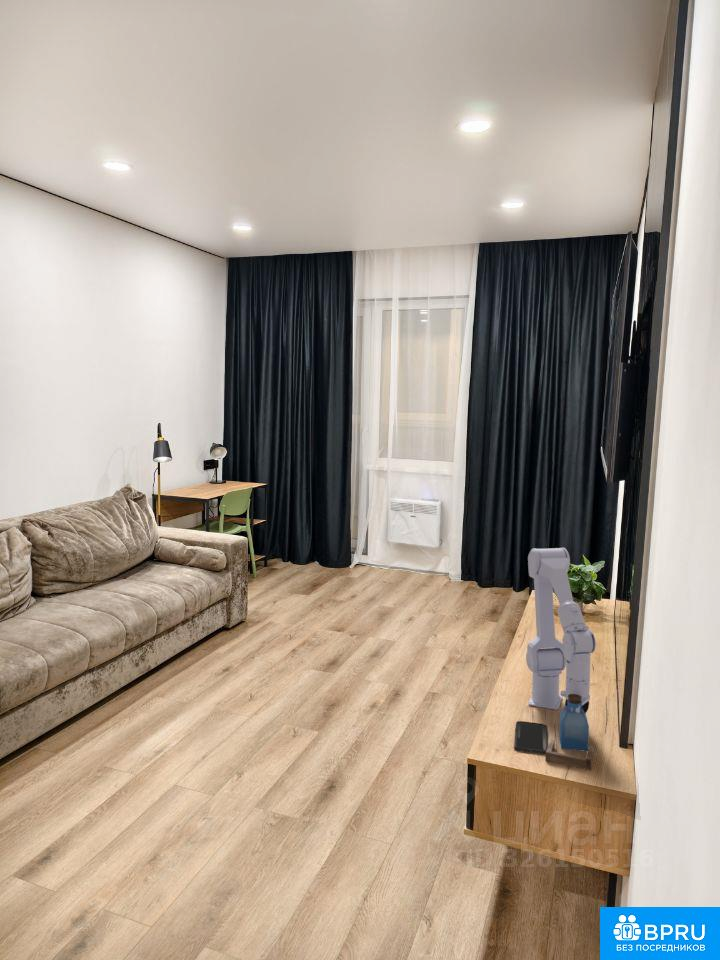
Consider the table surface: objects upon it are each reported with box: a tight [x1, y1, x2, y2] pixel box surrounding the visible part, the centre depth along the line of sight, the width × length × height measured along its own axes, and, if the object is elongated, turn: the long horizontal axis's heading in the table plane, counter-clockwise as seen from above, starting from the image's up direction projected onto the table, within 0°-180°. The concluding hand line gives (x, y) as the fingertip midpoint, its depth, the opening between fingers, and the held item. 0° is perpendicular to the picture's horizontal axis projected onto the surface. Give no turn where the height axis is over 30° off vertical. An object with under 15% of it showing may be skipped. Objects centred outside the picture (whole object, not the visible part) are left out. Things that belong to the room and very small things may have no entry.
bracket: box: [544, 738, 594, 771], centre depth 153 cm, size 7×10×2 cm
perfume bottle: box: [558, 694, 590, 752], centre depth 159 cm, size 6×6×12 cm
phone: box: [513, 720, 548, 755], centre depth 162 cm, size 8×1×15 cm
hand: (576, 729), depth 165 cm, fingers closed
